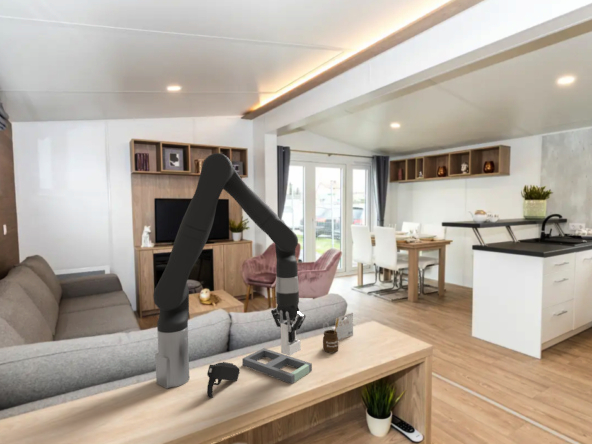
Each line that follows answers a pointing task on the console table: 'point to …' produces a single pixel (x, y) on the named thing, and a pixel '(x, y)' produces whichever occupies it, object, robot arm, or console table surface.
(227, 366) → the gun
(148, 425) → the console table surface
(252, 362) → the port panel
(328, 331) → the utensil holder
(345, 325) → the ink cartridge box
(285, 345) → the white wedge bracket
